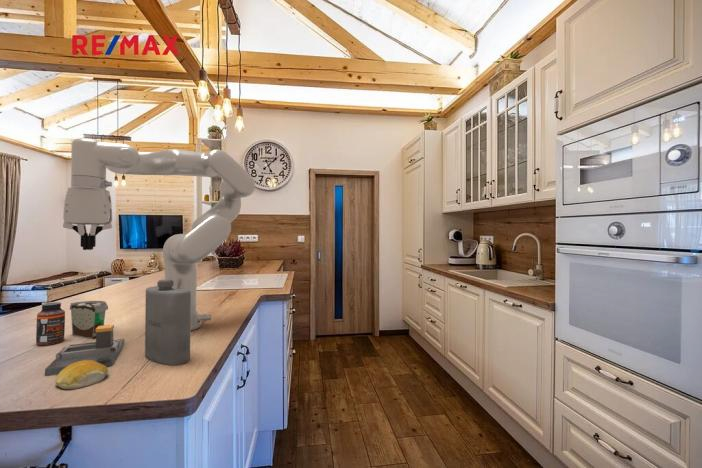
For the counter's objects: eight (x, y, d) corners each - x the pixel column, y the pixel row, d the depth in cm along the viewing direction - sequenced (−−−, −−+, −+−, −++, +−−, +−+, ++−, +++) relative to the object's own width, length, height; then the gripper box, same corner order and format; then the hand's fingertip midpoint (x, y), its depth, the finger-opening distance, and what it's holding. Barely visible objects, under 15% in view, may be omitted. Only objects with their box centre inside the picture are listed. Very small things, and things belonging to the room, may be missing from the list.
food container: (117, 333, 100) (117, 302, 100) (96, 339, 94) (96, 306, 94) (91, 329, 104) (91, 299, 104) (69, 335, 98) (69, 302, 98)
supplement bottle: (46, 347, 87) (47, 306, 87) (30, 345, 89) (30, 305, 89) (70, 340, 93) (70, 301, 93) (54, 338, 94) (54, 300, 94)
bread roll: (95, 369, 74) (96, 352, 74) (113, 379, 69) (113, 360, 69) (48, 383, 67) (49, 364, 67) (64, 394, 62) (64, 374, 62)
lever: (113, 346, 84) (113, 324, 84) (111, 350, 81) (111, 327, 81) (98, 348, 82) (98, 325, 82) (95, 352, 79) (95, 329, 79)
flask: (137, 355, 82) (138, 278, 82) (160, 349, 87) (161, 276, 87) (171, 368, 74) (172, 283, 74) (194, 360, 79) (195, 280, 79)
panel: (124, 343, 90) (124, 334, 90) (111, 365, 75) (112, 354, 75) (70, 350, 85) (70, 340, 85) (44, 375, 70) (45, 363, 70)
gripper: (123, 188, 95) (122, 248, 95) (58, 184, 88) (57, 249, 88) (118, 184, 89) (118, 249, 89) (48, 180, 82) (47, 250, 82)
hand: (88, 249), depth 89 cm, fingers closed
